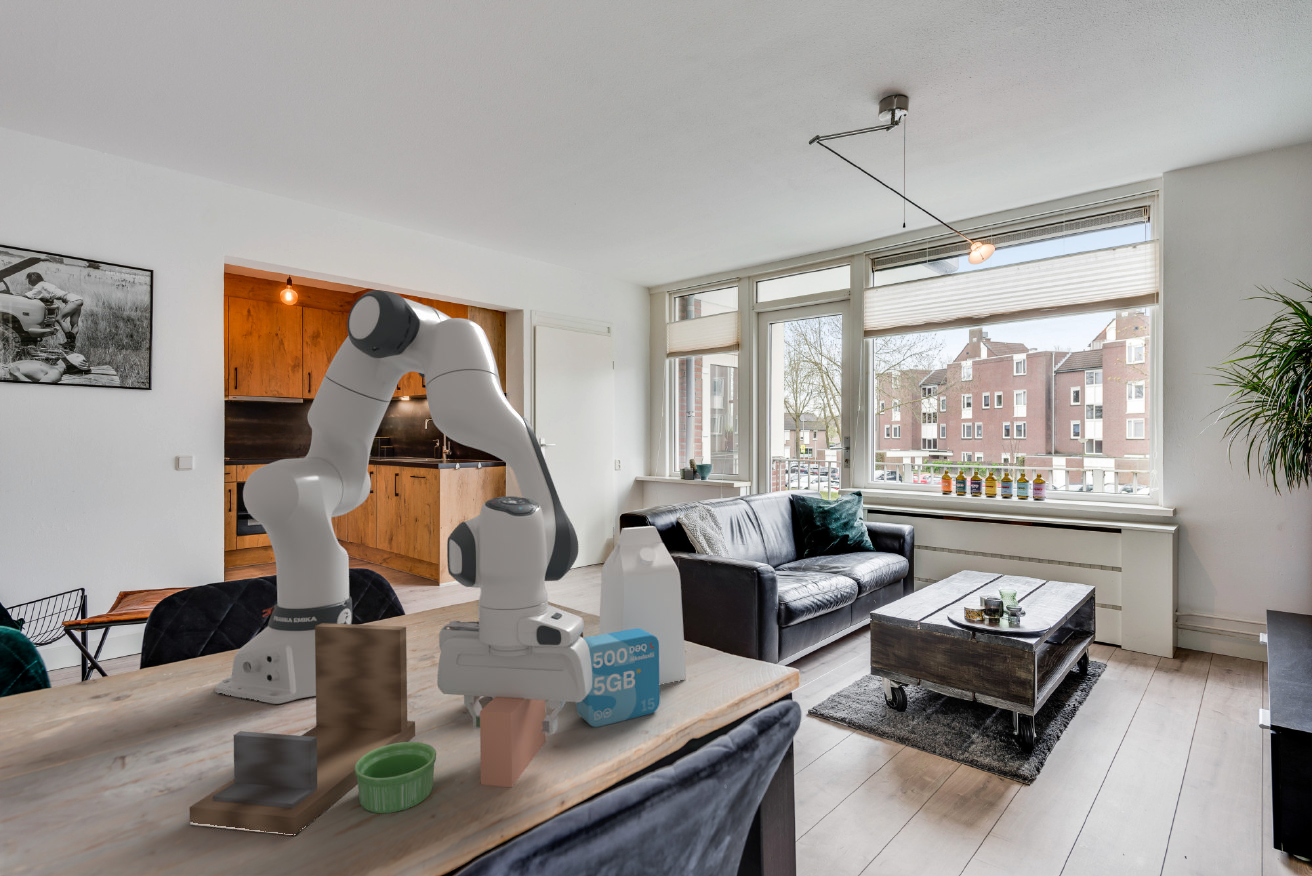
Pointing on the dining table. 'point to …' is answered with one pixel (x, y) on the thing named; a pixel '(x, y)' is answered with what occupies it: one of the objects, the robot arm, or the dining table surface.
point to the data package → (621, 677)
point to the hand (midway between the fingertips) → (515, 729)
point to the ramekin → (395, 776)
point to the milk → (645, 596)
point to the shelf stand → (319, 735)
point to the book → (509, 738)
